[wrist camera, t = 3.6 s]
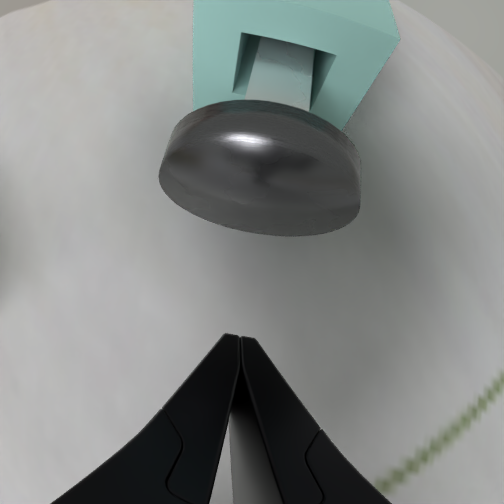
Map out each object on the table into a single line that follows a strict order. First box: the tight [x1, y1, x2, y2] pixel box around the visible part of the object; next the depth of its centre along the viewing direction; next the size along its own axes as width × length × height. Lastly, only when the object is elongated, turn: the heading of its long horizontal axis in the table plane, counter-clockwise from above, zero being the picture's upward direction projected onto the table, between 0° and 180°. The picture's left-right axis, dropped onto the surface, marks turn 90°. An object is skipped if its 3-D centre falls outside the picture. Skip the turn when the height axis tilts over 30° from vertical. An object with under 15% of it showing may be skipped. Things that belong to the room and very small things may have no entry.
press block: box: [193, 0, 400, 131], centre depth 16 cm, size 12×8×10 cm, turn 170°
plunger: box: [159, 36, 361, 236], centre depth 13 cm, size 12×7×7 cm, turn 170°
